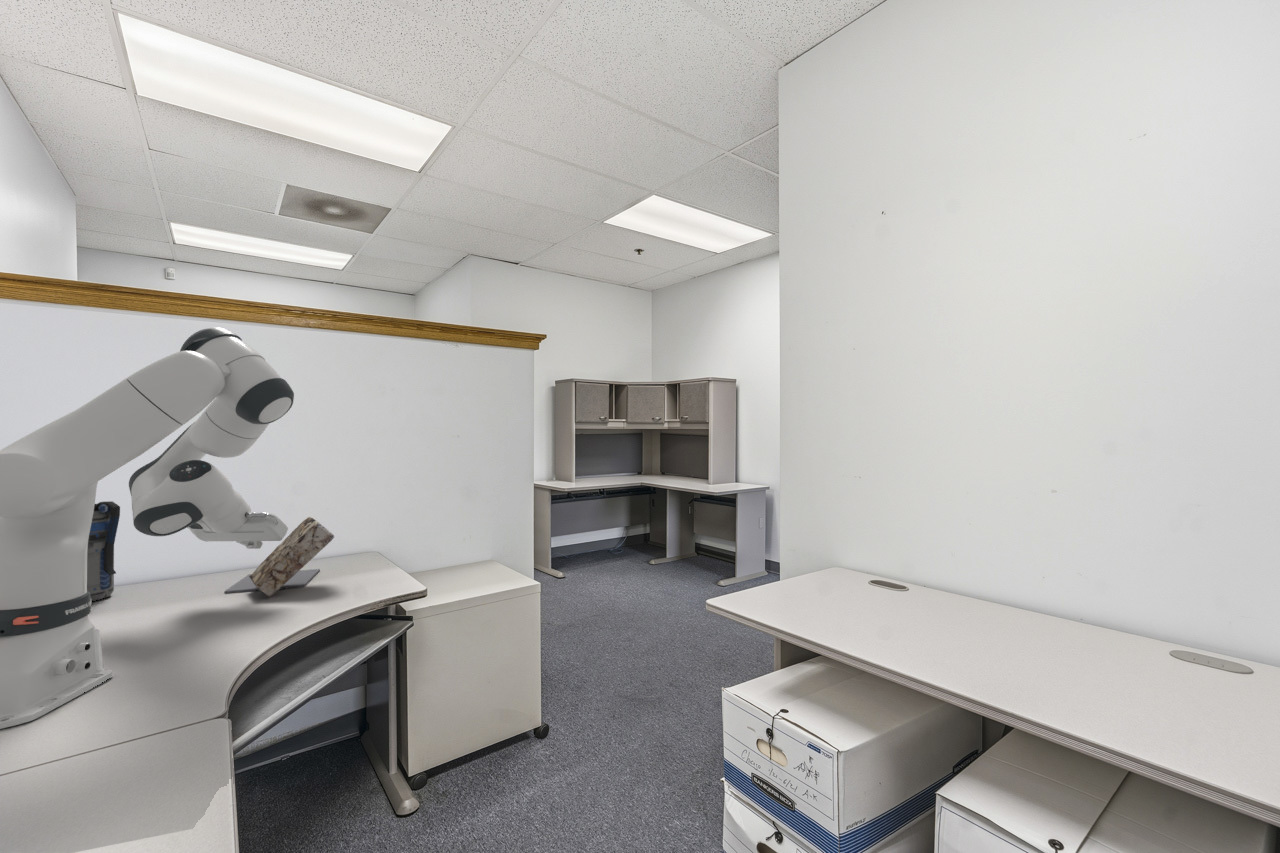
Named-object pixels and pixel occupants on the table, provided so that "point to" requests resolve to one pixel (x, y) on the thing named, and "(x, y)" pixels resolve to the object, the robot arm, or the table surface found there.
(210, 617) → the table surface
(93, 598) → the grey blue tall cylinder
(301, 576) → the mat
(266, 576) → the stone block
